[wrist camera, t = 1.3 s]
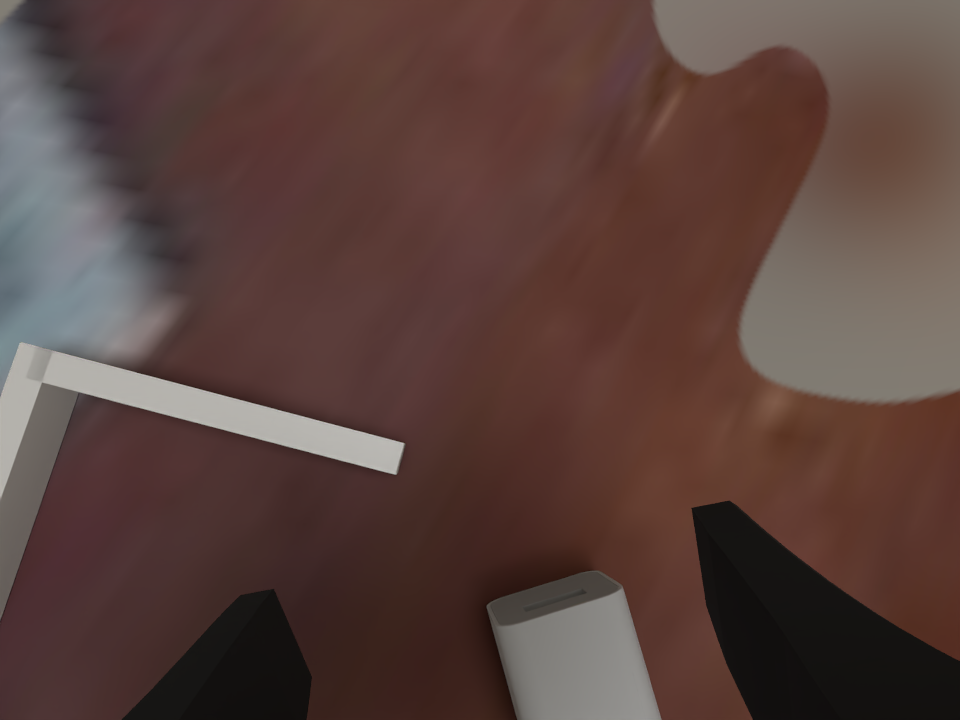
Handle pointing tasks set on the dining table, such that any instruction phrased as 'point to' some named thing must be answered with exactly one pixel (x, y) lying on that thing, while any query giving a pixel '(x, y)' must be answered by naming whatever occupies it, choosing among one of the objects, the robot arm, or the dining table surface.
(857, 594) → the dining table surface
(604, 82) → the dining table surface
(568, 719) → the usb wall charger
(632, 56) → the dining table surface
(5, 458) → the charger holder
